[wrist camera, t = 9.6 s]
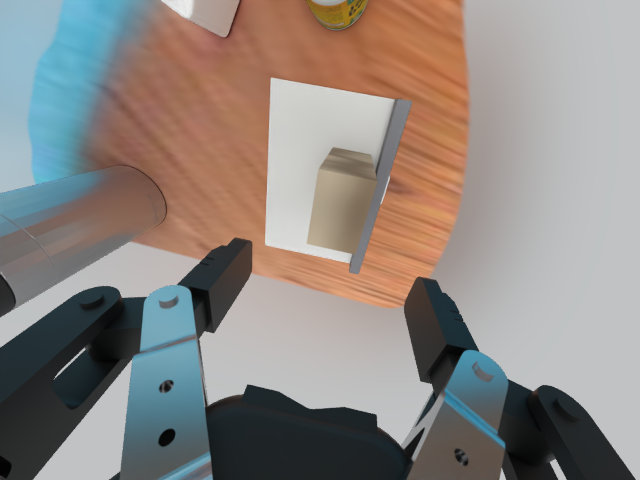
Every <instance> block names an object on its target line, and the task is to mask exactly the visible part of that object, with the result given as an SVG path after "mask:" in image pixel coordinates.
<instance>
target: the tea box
mask: <svg viewBox="0 0 640 480" xmlns="http://www.w3.org/2000/svg"><path fill="white" fill-rule="evenodd" d="M376 185H377V177H376V173H375V169H374V165H373V161H372V157H371V155H370V154H365V153H360V152H356V151H351V150H346V149H341V148H336V147H333V148H332V149H331V151H330V152H329V154H328V155H327V157H326V158H325V160H324V161H323V163H322V164H321V166H320V167H319V169H318V175H317V181H316V188H315V194H314V200H313V206H312V213H311V219H310V225H309V232H308V238H307V244H310V245H314V246H319V247H323V248H328V249H332V250H337V251H341V252H346V253H350V254H355V255H356V251H357V248H358V245H359V242H360V238H361V235H362V232H363V228H364V225H365V222H366V218H367V215H368V211H369V208H370V205H371V201H372V198H373V195H374V191H375V188H376Z"/></svg>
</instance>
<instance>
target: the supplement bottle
mask: <svg viewBox="0 0 640 480" xmlns="http://www.w3.org/2000/svg"><path fill="white" fill-rule="evenodd" d="M306 1H307V3H308V5H309V7H310V9H311V11H312V12H313V14H314V16H315V18H316V19H317V20H318V22H319V23H320V24H321V25H323V26H324V27H326V28H328V29H330V30H336V31H337V30H342V29H345V28H347V27H349V26H351V25H352V24H353V23H355V22H356V21H357V20H358V19H359V18H360V16H361V15H362V13H363V11H364V9H365V7H366V5H367V2H368V0H306Z"/></svg>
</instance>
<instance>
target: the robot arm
mask: <svg viewBox="0 0 640 480" xmlns="http://www.w3.org/2000/svg"><path fill="white" fill-rule="evenodd" d="M165 215H166V205H165V201H164V198H163V196H162V194H161V192H160V191H159V189H158V188H157V186H156V185H155V184H154V183H153V182H152V181H151V180H150V179H149V178H148V177H147V176H146V175H144V174H143V173H142V172H140V171H138V170H136V169H134V168H132V167H129V166H124V165H118V166H113V167H108V168H104V169H100V170H96V171H92V172H87V173H83V174H79V175H75V176H70V177H66V178H62V179H58V180H54V181H49V182H45V183H41V184H37V185H33V186H29V187H25V188H21V189H16V190H12V191H8V192H4V193H0V317H2V316H3V315H5V314H7V313H8V312H10V311H11V310H14V309H15V308H17V307H19V306H20V305H22V304H24V303H25V302H27V301H29V300H31V299H32V298H34V297H36V296H38V295H39V294H41V293H43V292H44V291H46V290H48V289H50V288H51V287H53V286H54V285H56V284H58V283H60V282H61V281H63V280H65V279H66V278H68V277H70V276H71V275H73V274H75V273H77V272H78V271H80V270H82V269H84V268H85V267H87V266H89V265H90V264H92V263H94V262H96V261H97V260H99V259H100V258H102V257H104V256H106V255H108V254H109V253H111V252H113V251H114V250H116V249H118V248H119V247H121V246H123V245H124V244H126V243H128V242H130V241H131V240H133V239H135V238H137V237H138V236H140V235H142V234H143V233H145V232H147V231H149V230H150V229H152V228H154V227H155V226H157V225H159V224H160V223H161V222H162V221H163V220H164V218H165ZM251 271H252V242H251V241H250V240H245V239H240V238H234V239H233V240H232V241H231V242H230V243H229V244H228V245H227V246H223V245H222V246H220V247H218V248H216V249H214V250H212V251H211V252H210V253H209V254H208V255H207V256H206V257H205V258H204V259H203V260H202V261H201V262H200V263H199V264H198V265H197V266H195V267H194V268H193V269H192V271H190V272H189V273H188V274H187V275H186V276H185V277H184V278H183V279H182V280H181V281H180V282H179V283H178V284H177V285H171V286H166V287H162V288H160V289H158V290H156V291H154V292H152V293H151V294H150V295H149V296H148V297H135V298H122V297H121V294H120V292H119V290H118V289H116V288H114V287H110V286H100V287H94V288H91V289H87V290H84V291H82V292H80V293H78V294H76V295H74V296H72V297H71V298H70V299H68V300H67V301H66V302H64V303H63V304H61V305H60V306H58V307H57V308H55V309H54V310H53V311H51V312H50V313H48V314H47V315H46V316H45V317H43V318H41V319H40V320H39V321H37V322H36V323H35V324H33V325H32V326H30V327H29V328H27V329H26V330H25V331H23V332H22V333H21V334H19V335H18V336H16V337H15V338H13V339H12V340H11V341H9V342H8V343H6V344H5V345H4V346H2V347H1V348H0V480H33V479H34V477H35V476H36V475H37V474H38V473H39V471H40V470H41V469H42V468H43V467H44V465H45V464H46V463H47V461H48V460H49V459H50V458H51V457H52V456H53V454H54V453H55V452H56V451H57V449H58V448H59V447H60V446H61V445H62V443H63V442H64V441H65V440H66V438H67V437H68V436H69V435H70V434H71V432H72V431H73V430H74V429H75V428H76V426H77V425H78V424H79V423H80V422H81V420H82V419H83V418H84V417H85V415H86V414H87V413H88V412H89V410H90V409H91V408H92V407H93V406H94V404H95V403H96V402H97V401H98V400H99V398H100V397H101V396H102V395H103V394H104V392H105V391H106V390H107V389H108V387H109V386H110V385H111V384H112V383H113V381H114V380H115V379H116V378H117V377H118V375H119V374H120V373H121V371H122V370H123V369H124V368H125V367H126V366H127V364H128V363H129V362H130V361H131V360H132V358H133V360H132V368H131V377H130V386H129V396H128V405H127V414H126V424H125V433H124V442H123V451H122V461H121V471H120V472H119V473H117V474H116V475H115V476H113V477H112V478H111V479H109V480H499V478H500V473H501V468H502V469H503V472H504V474H505V477H506V480H558V478H557V477H556V474H555V472H554V470H553V468H552V466H551V464H550V461H552V460H554V459H556V460H557V462H558V464H559V466H560V467H561V469H562V471H563V473H564V475H565V477H566V479H567V480H636V479H635V478H634V476H633V475H632V474H631V472H630V471H629V470H628V468H627V467H626V465H625V464H624V462H623V461H622V460H621V458H620V457H619V455H618V454H617V453H616V451H615V450H614V448H613V447H612V446H611V444H610V443H609V441H608V440H607V439H606V437H605V436H604V434H603V433H602V432H601V430H600V429H599V427H598V426H597V425H596V423H595V422H594V420H593V419H592V418H591V416H590V415H589V414H588V413H587V411H586V410H585V409H584V408H583V407H582V406H581V405H580V404H579V403H578V402H576V401H575V400H574V399H573V398H572V397H570V396H569V395H567V394H566V393H564V392H563V391H561V390H559V389H557V388H555V387H552V386H548V385H542V386H540V387H539V388H537V389H536V390H535V391H534V392H533V391H531V390H529V389H527V388H525V387H523V386H521V385H519V384H517V383H515V382H513V381H511V380H509V379H507V377H506V375H505V373H504V372H503V370H502V369H501V368H500V367H499V365H498V364H497V363H496V362H495V361H493V360H492V359H491V358H490V357H488V356H486V355H485V354H483V353H481V352H479V350H478V348H477V346H476V344H475V342H474V340H473V338H472V336H471V334H470V332H469V330H468V328H467V326H466V324H465V322H463V318H462V316H461V314H459V310H458V308H457V306H456V304H455V302H454V301H453V300H452V299H451V298H450V297H449V296H448V295H447V294H446V293H442V291H441V289H440V287H439V285H438V282H437V281H436V280H433V279H428V278H423V277H417V278H416V280H415V282H414V284H413V286H412V288H411V290H410V292H409V294H408V296H407V299H406V301H405V305H404V313H405V318H406V322H407V326H408V330H409V334H410V338H411V343H412V347H413V351H414V355H415V360H416V364H417V368H418V372H419V377H420V381H422V382H426V383H430V384H432V386H433V391H432V393H431V394H430V396H429V398H428V400H427V402H426V403H425V405H424V407H423V409H422V411H421V413H420V414H419V416H418V418H417V420H416V422H415V424H414V426H413V427H412V429H411V431H410V433H409V434H408V436H407V437H406V439H405V441H404V442H403V443H402V445H401V446H400V445H399V444H398V443H397V442H396V441H395V440H394V439H393V438H392V437H391V436H390V435H389V434H387V433H386V432H385V431H383V430H382V429H381V428H378V427H377V416H376V415H375V414H371V413H367V412H363V411H358V410H354V409H350V408H346V407H339V408H324V409H308V408H306V407H304V406H303V405H301V404H299V403H298V402H296V401H294V400H292V399H291V398H289V397H287V396H285V395H284V394H282V393H280V392H278V391H274V390H269V389H265V388H261V387H257V386H253V385H247V387H246V389H245V392H244V394H242V395H235V396H230V397H227V398H224V399H221V400H219V401H217V402H214V403H212V404H211V405H209V404H208V398H207V391H206V385H205V378H204V371H203V363H202V356H201V348H200V341H199V338H200V337H201V335H202V334H203V332H204V331H206V332H211V333H214V332H215V331H216V329H217V328H218V326H219V324H220V323H221V321H222V320H223V318H224V317H225V315H226V313H227V311H228V310H229V309H230V307H231V306H232V304H233V302H234V301H235V299H236V297H237V296H238V295H239V293H240V291H241V290H242V288H243V287H244V285H245V283H246V282H247V280H248V279H249V277H250V274H251ZM84 347H85V349H86V350H85V351H84V352H83V353H82V354H80V355H79V356H78V358H76V359H75V360H74V361H73V362H72V363H71V364H70V365H69V366H68V367H67V368H66V369H65V370H64V371H63V372H62V373H61V374H60V375H58V376H57V377H56V378H55V376H56V375H57V373H58V372H59V371H60V370H61V369H62V368H63V367H64V366H65V365H66V364H67V363H68V362H70V361H71V359H73V358H74V357H75V356H76V355H77V354H78V353H79V352H80V351H81V350H82V349H83V348H84ZM54 378H55V379H54Z"/></svg>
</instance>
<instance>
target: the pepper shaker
mask: <svg viewBox="0 0 640 480" xmlns="http://www.w3.org/2000/svg"><path fill="white" fill-rule="evenodd" d="M161 1H163V2H164V3H165V4H166V5H168V6H169V7H170V8H171V9H173V10H174V11H175V12H177V13H178V14H179V15H181V16H182V17H183V18H185V19H187V20H189V21H191V22H193V23H195V24H197V25H199V26H201V27H203V28H205V29H207V30H209V31H211V32H213V33H214V34H216V35H218V36H221V37H226V36H227V35H228V33H229V30H230V27H231V24H232V22H233V19H234V16H235V13H236V10H237V7H238V4H239V1H240V0H161Z"/></svg>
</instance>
